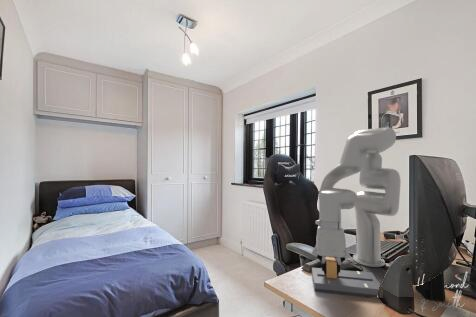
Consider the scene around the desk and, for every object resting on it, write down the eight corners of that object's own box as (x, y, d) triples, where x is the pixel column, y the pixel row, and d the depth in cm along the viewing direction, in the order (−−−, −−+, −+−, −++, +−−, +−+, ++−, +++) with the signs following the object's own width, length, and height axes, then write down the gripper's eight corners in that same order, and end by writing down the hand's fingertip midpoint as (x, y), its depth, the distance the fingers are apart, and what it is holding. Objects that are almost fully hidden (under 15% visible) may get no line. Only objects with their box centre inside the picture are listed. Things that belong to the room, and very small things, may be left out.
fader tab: (325, 277, 90) (325, 256, 90) (335, 278, 89) (334, 257, 89) (326, 282, 86) (326, 261, 86) (337, 283, 85) (336, 262, 85)
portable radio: (449, 303, 75) (447, 225, 75) (427, 301, 76) (426, 224, 76) (433, 290, 83) (432, 219, 83) (414, 288, 84) (413, 218, 84)
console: (311, 274, 95) (311, 267, 95) (371, 280, 90) (371, 272, 90) (314, 291, 83) (314, 282, 83) (383, 298, 78) (383, 289, 78)
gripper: (307, 226, 86) (308, 276, 86) (357, 228, 82) (357, 281, 82) (306, 220, 93) (307, 266, 93) (351, 222, 89) (352, 270, 89)
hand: (330, 272), depth 87 cm, fingers closed on fader tab, 3 cm apart
